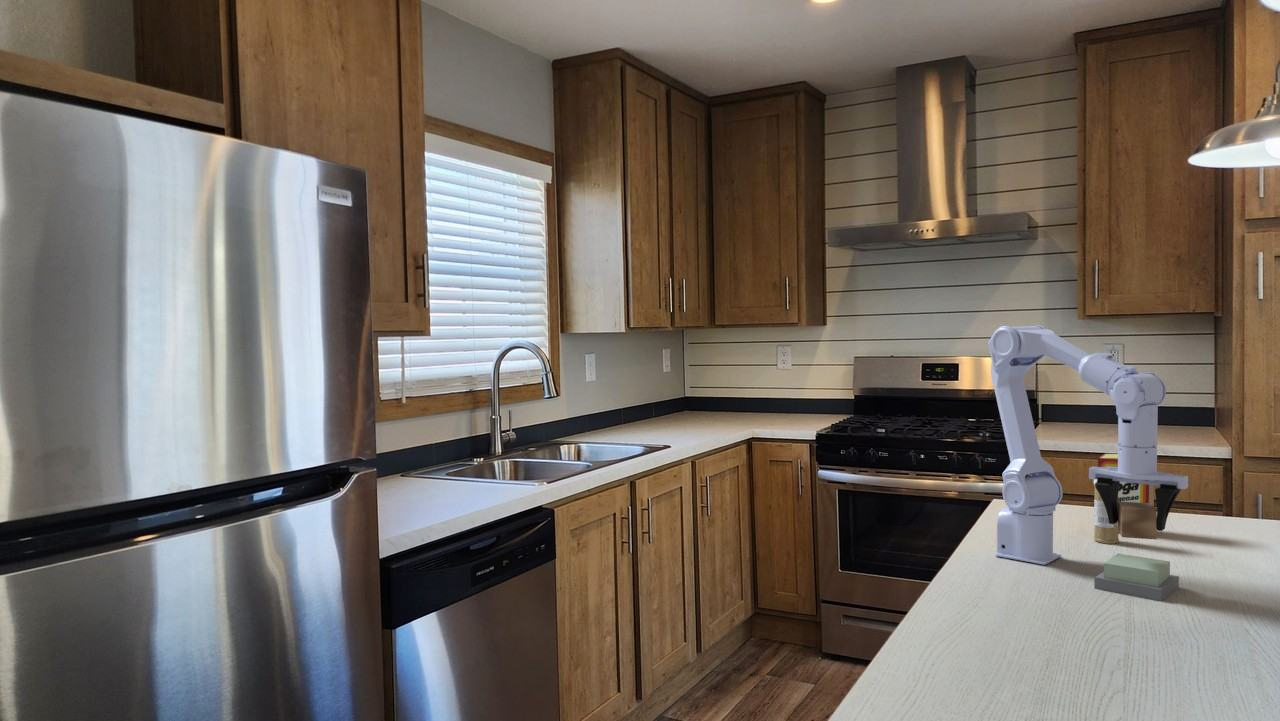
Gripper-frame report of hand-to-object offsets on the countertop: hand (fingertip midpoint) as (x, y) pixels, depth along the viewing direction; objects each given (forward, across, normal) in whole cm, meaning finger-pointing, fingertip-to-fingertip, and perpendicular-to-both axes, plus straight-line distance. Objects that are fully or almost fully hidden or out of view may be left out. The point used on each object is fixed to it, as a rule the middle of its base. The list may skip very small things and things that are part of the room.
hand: (1136, 526), depth 149 cm
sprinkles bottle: (+11, +14, -29) cm, 34 cm away
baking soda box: (+11, +14, -41) cm, 45 cm away
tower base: (+11, 0, 0) cm, 11 cm away
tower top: (+9, 0, 0) cm, 9 cm away
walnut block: (+2, 0, 0) cm, 2 cm away
